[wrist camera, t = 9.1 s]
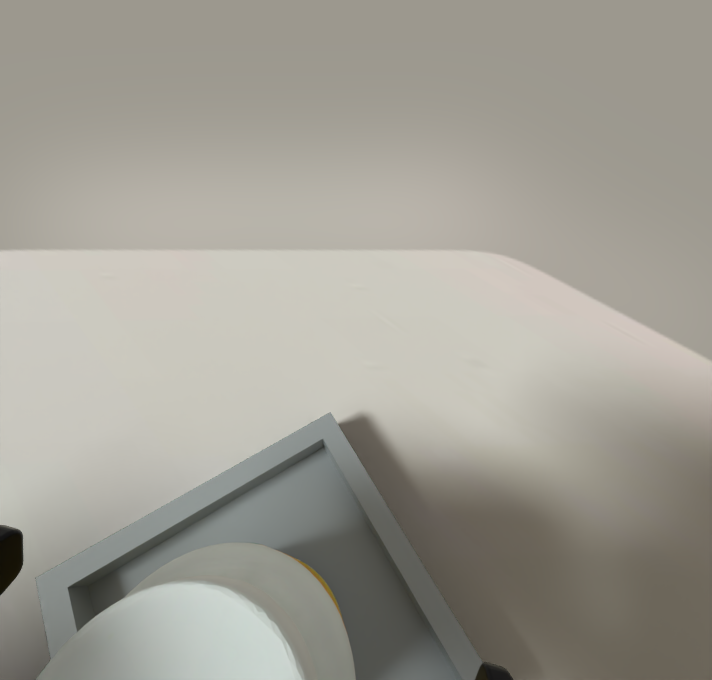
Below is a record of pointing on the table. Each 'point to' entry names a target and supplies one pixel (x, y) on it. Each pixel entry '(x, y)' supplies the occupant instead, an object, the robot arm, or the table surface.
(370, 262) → the table surface
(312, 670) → the supplement bottle
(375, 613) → the tray
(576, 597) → the table surface
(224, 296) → the table surface
